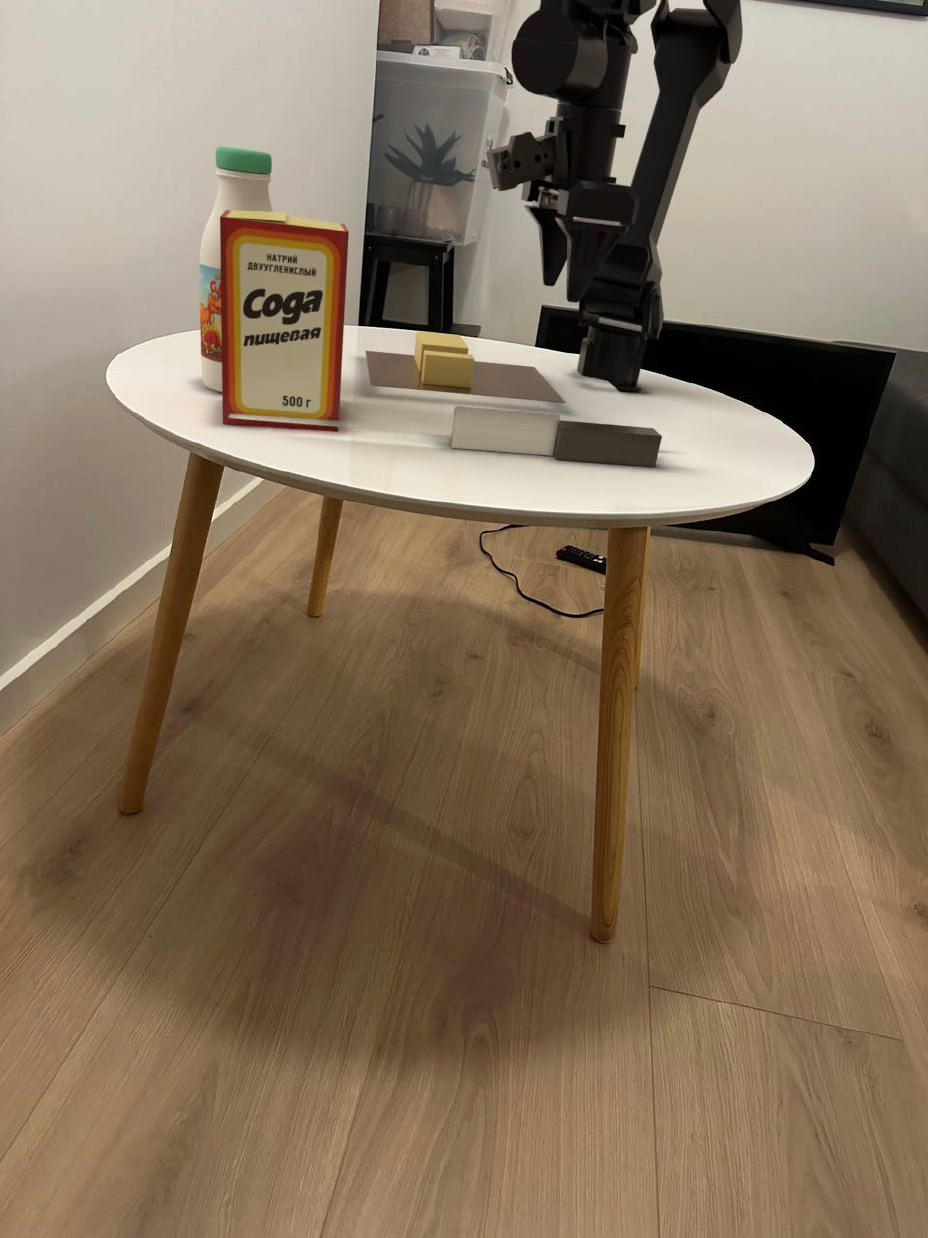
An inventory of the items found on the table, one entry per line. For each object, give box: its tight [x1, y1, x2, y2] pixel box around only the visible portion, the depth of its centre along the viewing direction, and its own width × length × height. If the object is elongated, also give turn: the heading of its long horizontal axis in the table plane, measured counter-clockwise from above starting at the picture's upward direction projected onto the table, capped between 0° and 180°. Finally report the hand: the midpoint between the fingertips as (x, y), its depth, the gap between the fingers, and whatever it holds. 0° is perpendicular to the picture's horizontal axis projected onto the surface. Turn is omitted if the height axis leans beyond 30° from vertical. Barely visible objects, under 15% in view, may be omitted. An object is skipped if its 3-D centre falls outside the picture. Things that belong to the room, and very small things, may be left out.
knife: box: [450, 405, 663, 468], centre depth 73 cm, size 18×2×4 cm, turn 98°
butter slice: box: [422, 350, 476, 388], centre depth 87 cm, size 5×2×3 cm, turn 97°
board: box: [365, 350, 567, 404], centre depth 93 cm, size 20×16×1 cm
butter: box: [413, 330, 469, 372], centre depth 94 cm, size 5×7×3 cm
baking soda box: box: [220, 210, 350, 432], centre depth 71 cm, size 10×6×16 cm
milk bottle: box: [198, 146, 274, 393], centre depth 77 cm, size 8×8×20 cm
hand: (559, 293), depth 83 cm, fingers open, 9 cm apart
